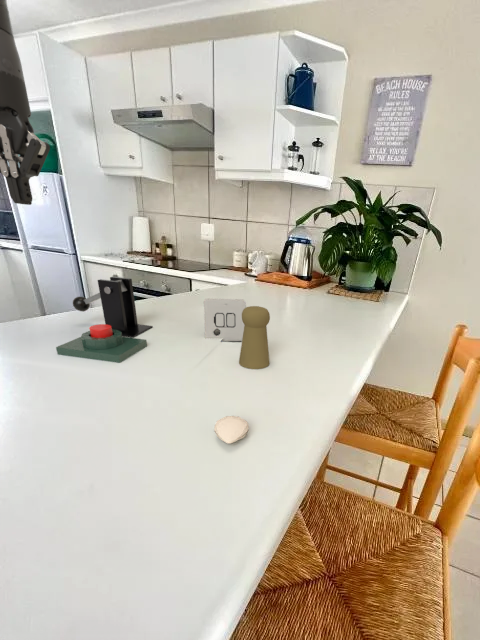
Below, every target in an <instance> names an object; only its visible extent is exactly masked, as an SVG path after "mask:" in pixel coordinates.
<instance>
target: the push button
mask: <svg viewBox="0 0 480 640" xmlns="http://www.w3.org/2000/svg"><path fill="white" fill-rule="evenodd" d="M88 329H89V331H90V334H91V337H94V338H105V337H110V336H112V335H113V332H112V327H111V326H110V325H106V324H105V323H101V324H93V325H91V326H89V328H88Z"/></svg>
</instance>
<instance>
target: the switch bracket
mask: <svg viewBox="0 0 480 640" xmlns="http://www.w3.org/2000/svg"><path fill="white" fill-rule="evenodd" d="M117 280H122V281H123V283H124V285H125V287H126V289H127V291H125V292H123V293H122V290H121V283H120V281H117ZM97 286H98V291H99V293H100V297H101V298H100V302H101V308H102V312H103V313H102V314H103V320H104V324H106V325H110V326H111V327H112V329H114V330H118V331H120V332H122V337H129V338H137V337H138V336H140V335H142V334H144V333H146V332H148V331H149V330H151V329H153V328H154V326H153V325H147V324H139V323H138V316H137V308H136V303H135V302H136V300H135V295H134V293H135V292H134V287H133V280H132V278H128V277H119V276H110V277H109V279H101V278H100V279H97Z"/></svg>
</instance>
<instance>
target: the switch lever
mask: <svg viewBox="0 0 480 640" xmlns="http://www.w3.org/2000/svg"><path fill="white" fill-rule="evenodd" d="M117 281H120V283H121V290H122V293H123V292H125V291H127V289H126V287H125V285H124V283H123V281H122V280H117ZM98 300H101V297H100V292H98V293H95V294H93V295H91V296H89V297H87V298H86V297H84V296H76V297H75V298H74V299H73V300H72V307H73V308H74V309H75V310H76V311H78V312H87V311H88V310H90V307H91V303H93V302H97V301H98Z"/></svg>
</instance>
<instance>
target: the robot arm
mask: <svg viewBox="0 0 480 640" xmlns="http://www.w3.org/2000/svg"><path fill="white" fill-rule="evenodd" d="M22 65H23V64H22V62H21V57H20V55H19V51H18V48H17V45H16V42H15V35H14V32H13V26H12V21H11V17H10V11H9V7H8V1H7V0H0V174H1V175H2V176H3V177H5V180H6V184H7V188H8V192H9V196H10V198H11V200H12V201H13V203H14V204H19V205H26V206H31V205H32V204H33V195H32V190H31V186H30V179H31V178H34V177H39V176H40V173H41V171H42V168H43V166H44V164H45V161H46V159H47V157H48V155H49V153H50V150H51V146H50V144H49V143H48V142H46V141H44V140H41V139H40V138H39V137H38V136H37V135H36V134H35V133H34V132H35V131H34V128H33V126H32V124H31V122H30V120H29V118H31V117H32V111H31V107H30V101H29V97H28V96H29V95H28V91H27V86H26V80H25V76H24V72H23V71H24V70H23V66H22Z"/></svg>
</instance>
